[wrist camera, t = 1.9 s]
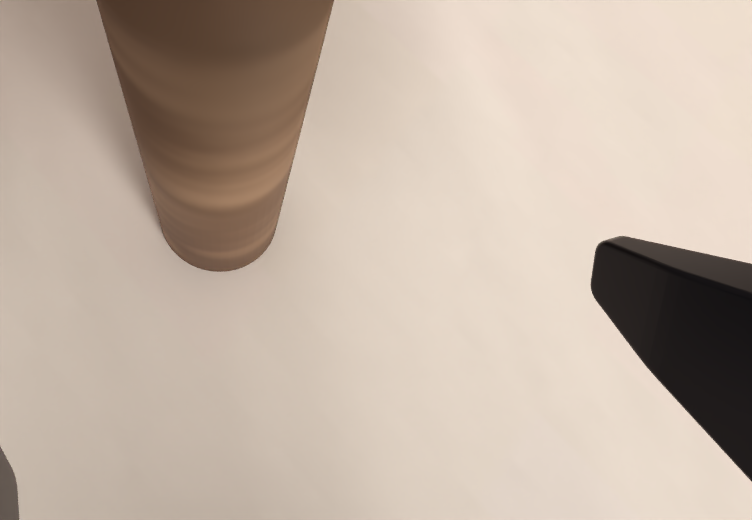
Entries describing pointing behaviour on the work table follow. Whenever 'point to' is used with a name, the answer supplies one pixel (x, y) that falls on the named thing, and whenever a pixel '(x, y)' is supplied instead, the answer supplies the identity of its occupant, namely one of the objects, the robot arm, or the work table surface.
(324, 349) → the work table surface
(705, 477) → the work table surface
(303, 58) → the pin
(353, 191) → the work table surface
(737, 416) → the robot arm
